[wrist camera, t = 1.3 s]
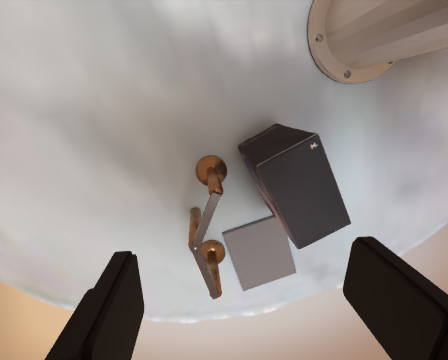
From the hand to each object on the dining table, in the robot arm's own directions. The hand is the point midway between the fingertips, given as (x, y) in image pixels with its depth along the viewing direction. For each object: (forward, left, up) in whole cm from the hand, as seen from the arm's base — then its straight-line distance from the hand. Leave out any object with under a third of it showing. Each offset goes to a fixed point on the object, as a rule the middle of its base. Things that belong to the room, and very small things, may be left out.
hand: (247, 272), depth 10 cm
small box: (-7, +4, -21) cm, 23 cm away
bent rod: (+3, +7, -21) cm, 22 cm away
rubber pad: (-2, +16, -21) cm, 26 cm away
